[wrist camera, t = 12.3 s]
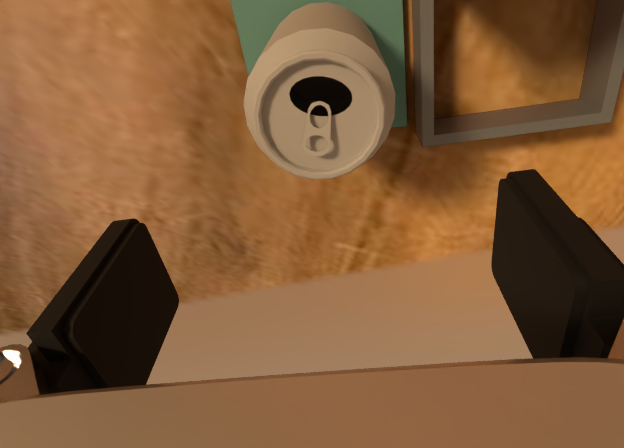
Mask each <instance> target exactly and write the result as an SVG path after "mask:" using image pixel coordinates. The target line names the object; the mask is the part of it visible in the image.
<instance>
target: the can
mask: <svg viewBox="0 0 624 448" xmlns="http://www.w3.org/2000/svg"><path fill="white" fill-rule="evenodd" d="M244 108H245V114H246V120H247V126H248V128H249V130H250V132H251V134H252V136H253V138H254V140H255V142H256V144H257V146H258V147H259V148H260V149H261V150H262V151H263V152H264V153H265V154H266V155H267V156H268V157H269V158H270V159H271V160H272V161H273V162H274V163H275V164H276V165H277V166H279V167H281V168H282V169H284V170H286V171H288V172H289V173H291V174H293V175H295V176H300V177H304V178H308V179H312V180H316V179H333V178H336V177H339V176H342V175H345V174H347V173H350V172H352V171H353V170H355V169H356V168H358V167H359V166H360V165H362V164H363V163H365V162H366V161H367V160H369V159H370V158H372V157H373V156H374V154H375V153H376V152H377V151H378V149H379V148H380V147H381V145H382V144H383V143H384V141H385V140H386V139H387V136H388V134H389V131H390V128H391V125H392V123H393V120H394V117H395V91H394V88H393V84H392V81H391V77H390V74H389V71H388V68H387V66H386V64H385V62H384V59H383V57H382V55H381V53H380V51H379V48H378V46H377V44H376V42H375V39H374V37H373V35H372V33H371V31H370V30H369V29H368V27H367V26H366V24H365V23H364V22H363V20H362V19H361V18H360V17H359V16H357V15H356V14H355V13H353V12H352V11H350V10H349V9H348V8H346V7H343V6H340V5H336V4H333V3H329V2H323V3H310V4H307V5H305V6H303V7H301V8H298V9H296V10H294V11H292V12H291V13H290V14H289V15H288V16H287V17H286V18H285V19H284V20H283V21H282V22H281V23H280V24H279V25H278V27H277V28H276V30H275V32H274V33H273V35H272V37H271V38H270V40H269V42H268V43H267V45H266V47H265V48H264V50H263V52H262V53H261V55H260V57H259V58H258V60H257V62H256V64H255V66H254V68H253V70H252V72H251V74H250V76H249V77H248V79H247V85H246V92H245V98H244Z"/></svg>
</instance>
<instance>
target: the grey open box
mask: <svg viewBox="0 0 624 448" xmlns="http://www.w3.org/2000/svg"><path fill="white" fill-rule="evenodd" d="M412 19H413V55H414V91H415V127H416V134H417V136H418V138H419V140H420V143H421V145H422V147H430V146H437V145H445V144H452V143H460V142H468V141H475V140H483V139H490V138H498V137H505V136H513V135H520V134H528V133H535V132H543V131H550V130H558V129H565V128H573V127H580V126H588V125H595V124H603V123H610V122H611V121H612V117H613V113H614V108H615V104H616V100H617V96H618V92H619V87H620V83H621V79H622V75H623V71H624V0H598V2H597V7H596V13H595V18H594V23H593V29H592V34H591V39H590V45H589V50H588V55H587V60H586V66H585V71H584V76H583V82H582V87H581V92H580V97H579V99H574V100H567V101H560V102H553V103H546V104H539V105H531V106H524V107H517V108H510V109H503V110H496V111H489V112H482V113H474V114H467V115H460V116H453V117H446V118H439V119H434V0H412Z"/></svg>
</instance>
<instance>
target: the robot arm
mask: <svg viewBox="0 0 624 448" xmlns="http://www.w3.org/2000/svg"><path fill="white" fill-rule="evenodd" d="M492 272H493V275H494V278H495V280H496V282H497V284H498V286H499V288H500V290H501V293H502V295H503V297H504V299H505V301H506V303H507V305H508V307H509V309H510V311H511V313H512V315H513V317H514V320H515V321H516V324H517V326H518V328H519V330H520V332H521V334H522V336H523V338H524V340H525V342H526V344H527V347H528V349H529V351H530V353H531V354H532V357H533V359H510V360H494V361H476V362H458V363H443V364H429V365H413V366H399V367H384V368H368V369H353V370H339V371H324V372H310V373H296V374H282V375H269V376H255V377H242V378H228V379H214V380H202V381H189V382H176V383H163V384H150V385H146V383H147V380H148V378H149V375H150V373H151V371H152V368H153V366H154V364H155V361H156V359H157V356H158V354H159V351H160V349H161V347H162V344H163V342H164V339H165V337H166V335H167V332H168V330H169V327H170V325H171V322H172V320H173V318H174V315H175V313H176V310H177V308H178V304H179V298H178V294H177V292H176V289H175V287H174V285H173V283H172V281H171V279H170V276H169V274H168V272H167V270H166V268H165V266H164V263H163V261H162V259H161V257H160V255H159V253H158V251H157V248H156V246H155V244H154V242H153V240H152V238H151V235H150V233H149V231H148V229H147V227H146V225H145V224H143V223H140V222H139V221H138V220H137V219H127V220H119V221H113V222H112V223H111V224H110V225H109V227H108V228H107V229H106V231H105V232H104V233H103V234H102V236H101V237H100V238H99V240H98V241H97V242H96V244H95V245H94V246H93V247H92V249H91V250H90V251H89V253H88V254H87V255H86V257H85V258H84V259H83V260H82V262H81V263H80V264H79V266H78V267H77V268H76V269H75V271H74V272H73V273H72V275H71V276H70V277H69V279H68V280H67V281H66V282H65V284H64V285H63V286H62V288H61V289H60V290H59V292H58V293H57V294H56V295H55V297H54V298H53V299H52V301H51V302H50V303H49V305H48V306H47V307H46V308H45V310H44V311H43V312H42V314H41V315H40V316H39V318H38V319H37V320H36V321H35V323H34V324H33V325H32V327H31V328H30V329H29V331H28V332H27V333H26V334H27V335H28V336H29V337H30V339H31V340H32V343H31V344H30V346H29V347H28V348H27V347H26V346H23V345H21V344H12V345H8V346H4V347H1V348H0V448H624V264H623V263H622V262H621V261H620V260H619V259H618V258H617V257H616V255H615V254H614V253H613V252H612V251H611V250H610V249H609V248H608V247H607V245H606V244H605V243H604V242H603V241H602V240H601V239H600V238H599V236H598V235H597V234H596V233H595V232H594V231H593V230H592V229H591V228H590V226H589V225H588V224H587V223H586V222H585V221H584V220H583V219H581V218H578V217H577V216H576V215H575V214H574V213H573V212H572V211H571V209H570V208H569V207H568V206H567V205H566V204H565V203H564V201H563V200H562V199H561V198H560V197H559V196H558V195H557V194H556V192H555V191H554V190H553V189H552V188H551V187H550V186H549V184H548V183H547V182H546V181H545V180H544V179H543V178H542V177H541V175H540V174H539V173H538V172H537V171H536V170H535V169H531V170H523V171H515V172H509V173H508V175H507V177H506V179H501V180H500V182H499V188H498V199H497V209H496V220H495V231H494V242H493V253H492Z"/></svg>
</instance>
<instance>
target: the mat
mask: <svg viewBox="0 0 624 448" xmlns="http://www.w3.org/2000/svg"><path fill="white" fill-rule="evenodd" d="M323 2H329V3H333V4H336V5H340V6H343V7H346V8H348V9H349V10H350V11H352V12H353V13H355V14H356V15H357V16H359V17H360V18H361V19H362V20H363V22H364V23H365V24H366V26H367V27H368V29H369V30H370V31H371V33H372V35H373V37H374V39H375V42H376V44H377V46H378V48H379V51H380V53H381V55H382V57H383V59H384V62H385V64H386V66H387V68H388V71H389V74H390V77H391V81H392V84H393V88H394V91H395V117H394V120H393V123H392V125H391V128H396V127H404V126H407V106H406V81H405V55H404V29H403V4H402V0H231V4H232V9H233V13H234V17H235V21H236V25H237V30H238V34H239V38H240V42H241V46H242V50H243V55H244V59H245V63H246V67H247V71H248V75H249V76H250V74H251V72H252V70H253V68H254V66H255V64H256V62H257V60H258V58H259V57H260V55H261V53H262V52H263V50H264V48H265V47H266V45H267V43H268V42H269V40H270V38H271V37H272V35H273V33H274V32H275V30H276V28H277V27H278V25H279V24H280V23H281V22H282V21H283V20H284V19H285V18H286V17H287V16H288V15H289V14H290V13H291V12H292V11H294V10H296V9H298V8H301V7H303V6H305V5H307V4H310V3H323Z"/></svg>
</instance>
